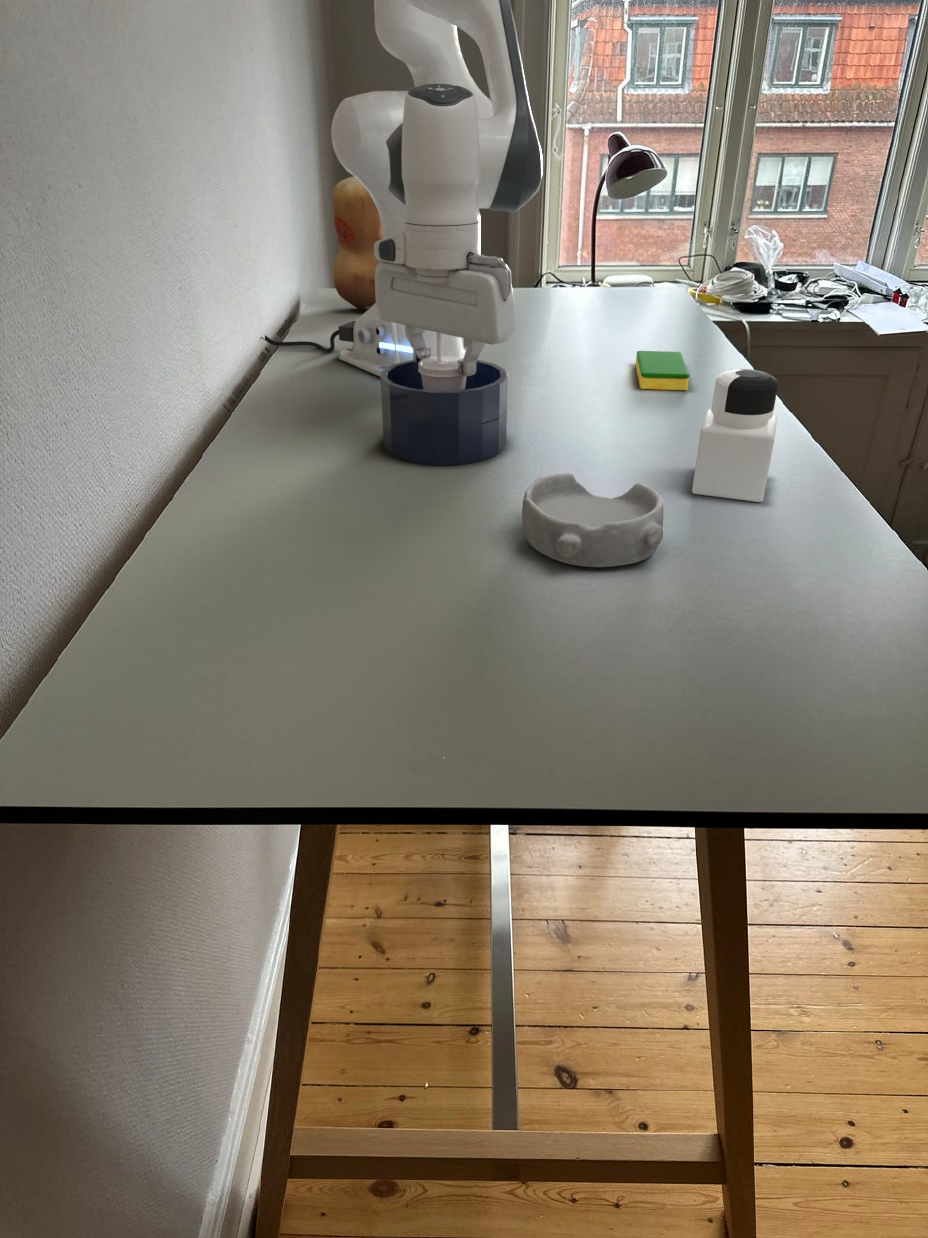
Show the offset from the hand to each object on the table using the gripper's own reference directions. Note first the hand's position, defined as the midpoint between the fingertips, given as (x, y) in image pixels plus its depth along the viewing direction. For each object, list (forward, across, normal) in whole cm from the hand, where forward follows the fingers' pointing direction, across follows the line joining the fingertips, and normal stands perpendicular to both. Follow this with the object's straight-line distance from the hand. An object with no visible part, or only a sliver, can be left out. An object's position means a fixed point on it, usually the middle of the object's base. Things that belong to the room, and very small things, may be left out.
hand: (443, 368), depth 109 cm
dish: (+10, -31, +11) cm, 34 cm away
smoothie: (+9, 0, 0) cm, 9 cm away
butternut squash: (+10, +67, -47) cm, 82 cm away
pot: (+10, 0, 0) cm, 10 cm away
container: (+10, -34, -12) cm, 37 cm away
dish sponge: (+10, -4, -45) cm, 46 cm away
